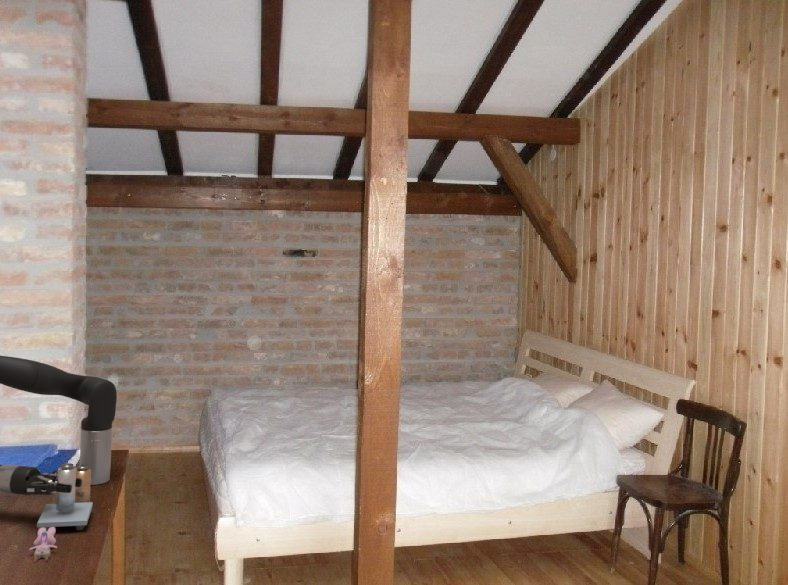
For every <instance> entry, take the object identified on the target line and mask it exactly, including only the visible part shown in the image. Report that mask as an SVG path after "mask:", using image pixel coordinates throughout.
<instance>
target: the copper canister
mask: <svg viewBox="0 0 788 585" xmlns="http://www.w3.org/2000/svg"><path fill="white" fill-rule="evenodd" d="M76 478H81V479H82V486H80V487H76V489H75V503H85V502H91V485H90V484H91V468H88V465H80V464H79V465H77V466H76Z"/></svg>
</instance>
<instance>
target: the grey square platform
mask: <svg viewBox="0 0 788 585" xmlns="http://www.w3.org/2000/svg"><path fill="white" fill-rule="evenodd" d="M93 504H94V503H93V501H90V502H85V503H75V508H74V509H73V510H70V511H58V510H56V503H45V506H44V509H43V511H42V512H41V515H40V516H39V519H38V521H37V523H36V528H43V527H44V528H46V531H48V529H49V528H50V527H55V528H57V527H75V530H76V531H78V530H81V531H83V530H84V529H85V526H87V525H88V522H89V519H90V516H91V513H92V509H93V507H94V506H93Z"/></svg>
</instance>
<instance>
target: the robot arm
mask: <svg viewBox="0 0 788 585" xmlns="http://www.w3.org/2000/svg"><path fill="white" fill-rule="evenodd" d="M0 385H3V386H6V387H9V388H12V389H15V390H18V391H21V392H27V393H31V394H37V395H41V396H42V395H43V396H62V397H66V398H69V399H71V400H75V401H77V402H80V403H83V404H85V405H87V406H88V408H87V416H85V417H84V418H82V420H81V421H80V422H81V423H80V424H81V425H80V446H79V447H80V448H79V465H88V468H91V484H90V486H92V485H101V484H105V483H107V482H109V481H111V461H112V437H113V435H112V433H113V432H112V431H113V422H114V420H115V417H116V410H117V400H118V399H117V394H118V393H117V392H118V391H117V387H116V386H115V384H114V382H112V381H111V380H108V379H104V378H101V377H97V376H90V375H83V374H82V375H81V374H75V373H71V372H67V371H65V370H63V369H60V368H58V367H56V366H54V365H50V364H48V363H44V362H40V361H36V360H31V359H28V358H21V357H14V356H9V355H7V356H5V355H0ZM57 478H58V470H53V471H52V473H48V472H43V473H41V472H40V469H39V468H38V467H35V466H27V465H17V464H0V492H1V493H5V494H13V495H22V496H23V495H24V496H31V495H32V496H35V495H38V496H49V495H51V494H52V493H53V494H57V492H63V493H70V492H71V491H72V485H71V484H62V483H58V484H57ZM80 486H82V479H81V478H76V487H80Z"/></svg>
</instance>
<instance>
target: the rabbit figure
mask: <svg viewBox="0 0 788 585" xmlns="http://www.w3.org/2000/svg"><path fill="white" fill-rule="evenodd" d="M56 531H57V530H56V527H50V528H49V529H48V531H46V528H44V527H43V528H42V527H39V528H38V530H37V537H36V539H35V540H34V541H33V546H32V547H29V551H32V550H35V551H34V552H33V553H34V554H33V558H34V559H33V562H34V563H36V562H38V560H40V559H41V558H43V559H44V561H50V560H49V558H50V556H51V548H53V549H57V548H58V546H57V545H55V544H56V543H57V540H56V538H55V537H54V536H55V534H56Z"/></svg>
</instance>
